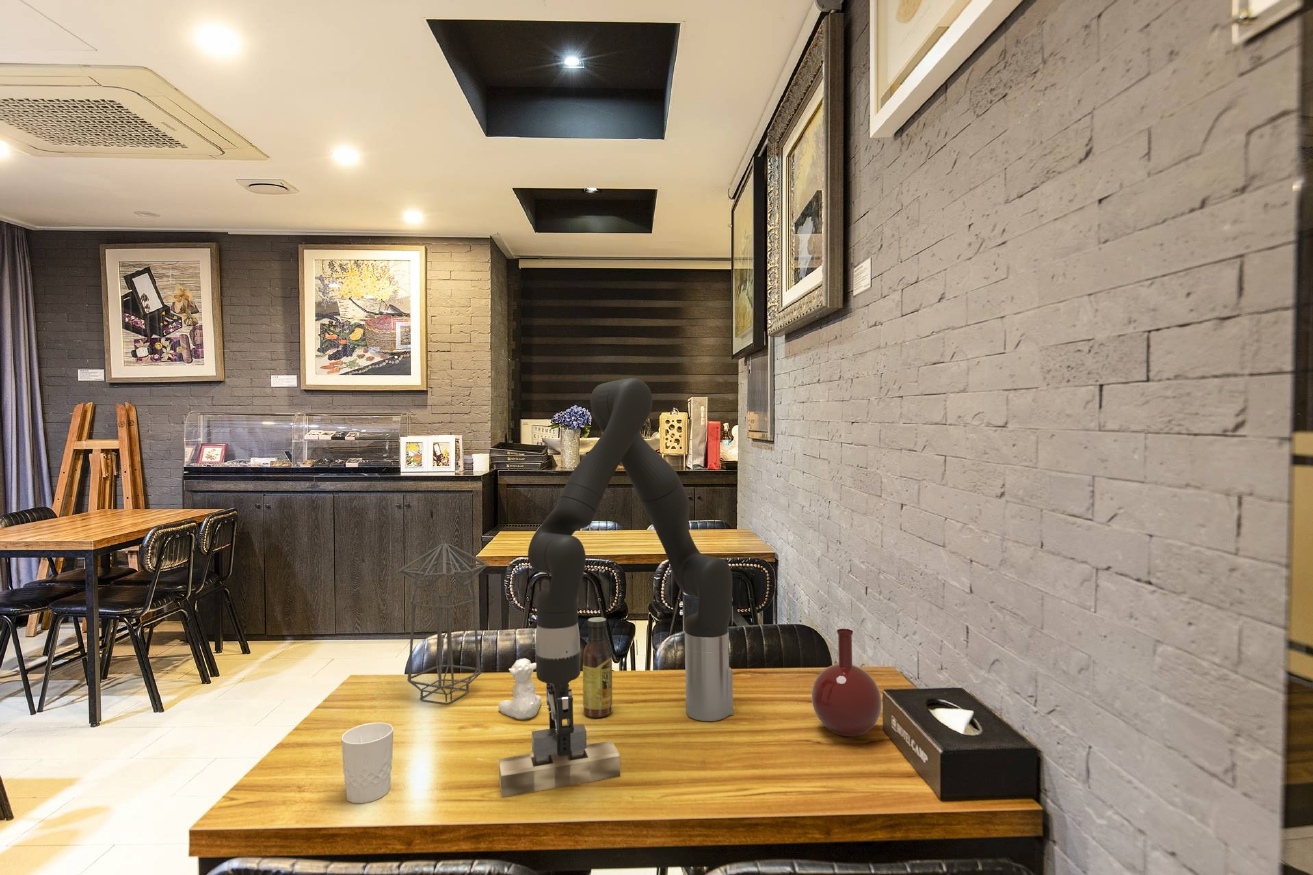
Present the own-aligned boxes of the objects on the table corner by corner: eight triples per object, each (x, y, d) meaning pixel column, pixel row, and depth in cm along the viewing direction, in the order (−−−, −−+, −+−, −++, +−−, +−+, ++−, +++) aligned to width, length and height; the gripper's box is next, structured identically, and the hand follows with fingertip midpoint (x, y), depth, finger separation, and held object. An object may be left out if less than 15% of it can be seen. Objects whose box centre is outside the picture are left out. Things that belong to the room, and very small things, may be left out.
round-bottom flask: (815, 715, 134) (814, 619, 134) (882, 723, 129) (880, 624, 130) (808, 743, 121) (806, 637, 122) (882, 753, 117) (880, 644, 117)
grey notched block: (583, 769, 113) (583, 723, 113) (587, 777, 110) (586, 730, 110) (532, 777, 111) (531, 731, 111) (534, 786, 108) (533, 738, 108)
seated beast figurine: (540, 702, 143) (539, 648, 143) (551, 716, 135) (550, 659, 135) (497, 710, 139) (497, 655, 139) (506, 726, 131) (505, 667, 131)
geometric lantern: (393, 703, 143) (393, 547, 145) (442, 681, 158) (441, 538, 159) (449, 713, 137) (448, 549, 139) (495, 688, 152) (493, 540, 153)
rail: (612, 759, 116) (611, 740, 116) (620, 776, 111) (620, 755, 111) (499, 779, 110) (498, 758, 110) (501, 797, 104) (501, 775, 105)
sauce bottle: (607, 720, 133) (606, 624, 133) (579, 718, 134) (577, 623, 134) (616, 707, 139) (614, 615, 140) (588, 705, 141) (587, 614, 141)
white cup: (353, 781, 110) (352, 723, 110) (400, 778, 111) (399, 720, 111) (334, 807, 102) (333, 744, 103) (384, 804, 103) (384, 742, 103)
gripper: (587, 659, 105) (589, 759, 105) (572, 635, 118) (573, 723, 118) (541, 665, 103) (543, 766, 103) (531, 639, 116) (532, 729, 116)
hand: (559, 743), depth 110 cm, fingers open, 8 cm apart
